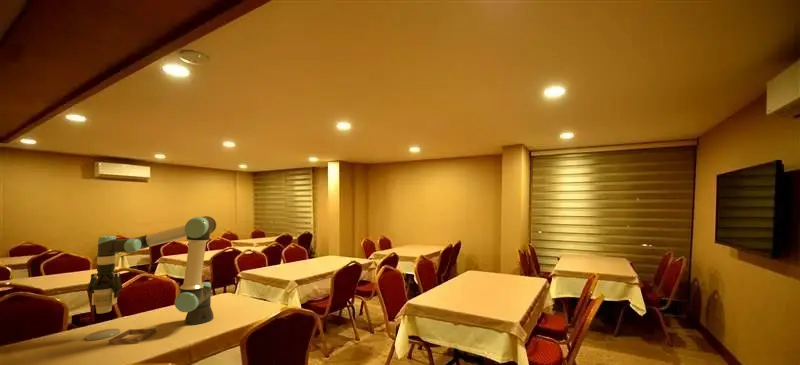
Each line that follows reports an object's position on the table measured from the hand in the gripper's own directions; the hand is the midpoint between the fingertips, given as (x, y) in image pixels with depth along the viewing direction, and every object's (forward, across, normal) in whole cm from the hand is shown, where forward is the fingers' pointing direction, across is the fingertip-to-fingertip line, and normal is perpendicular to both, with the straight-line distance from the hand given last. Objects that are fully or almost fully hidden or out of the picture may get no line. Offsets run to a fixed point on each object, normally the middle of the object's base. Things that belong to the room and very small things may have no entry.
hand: (104, 304), depth 183 cm
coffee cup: (+4, 0, 0) cm, 4 cm away
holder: (+17, -20, +6) cm, 27 cm away
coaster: (+17, 0, 0) cm, 17 cm away
